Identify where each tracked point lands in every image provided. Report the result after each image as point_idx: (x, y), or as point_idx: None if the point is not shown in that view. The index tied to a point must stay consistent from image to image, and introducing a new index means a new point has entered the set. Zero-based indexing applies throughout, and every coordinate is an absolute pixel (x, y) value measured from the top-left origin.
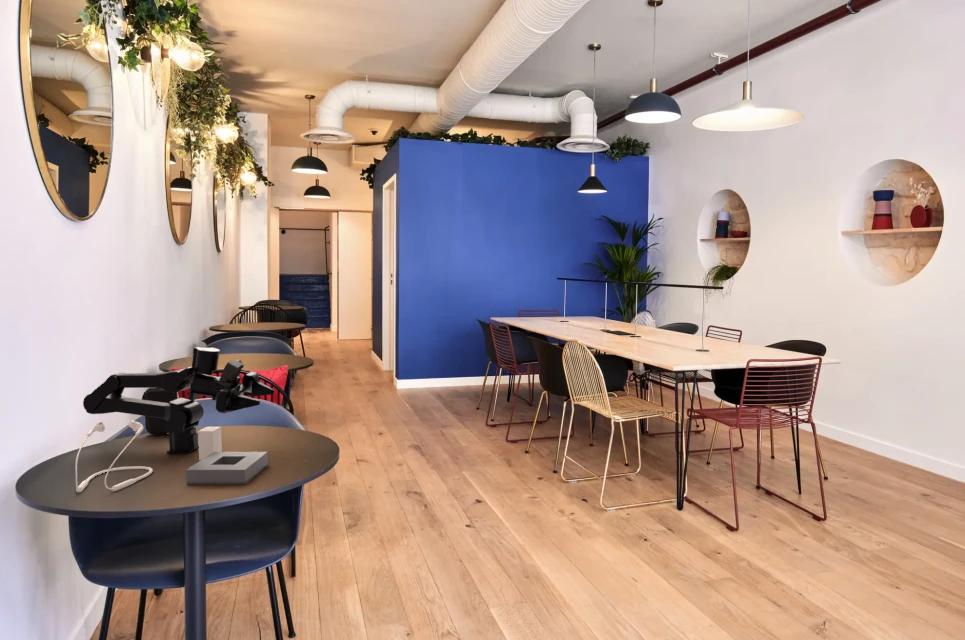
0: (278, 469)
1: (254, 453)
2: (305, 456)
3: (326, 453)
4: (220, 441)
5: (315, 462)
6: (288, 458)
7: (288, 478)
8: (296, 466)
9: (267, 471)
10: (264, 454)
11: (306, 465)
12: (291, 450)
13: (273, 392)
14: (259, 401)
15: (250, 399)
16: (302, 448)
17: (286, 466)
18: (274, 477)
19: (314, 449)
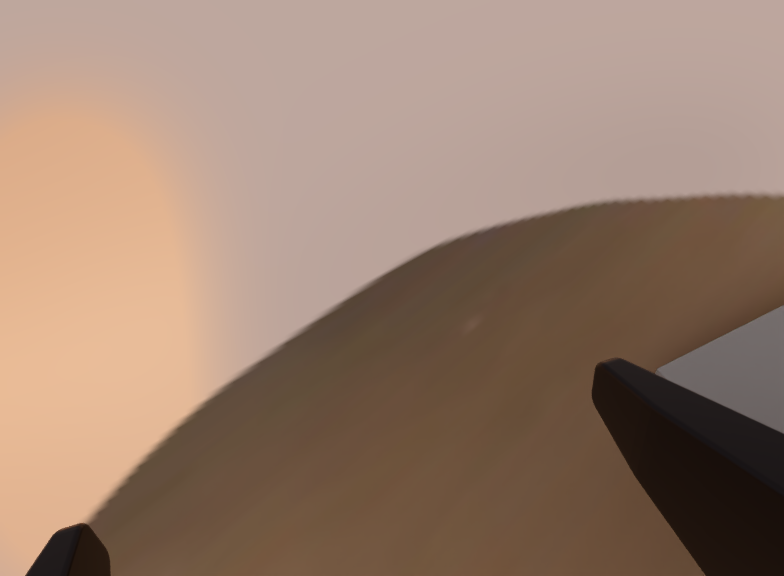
0: (649, 320)
1: (744, 407)
2: (422, 364)
3: (342, 321)
4: None
5: (474, 271)
6: (491, 409)
7: (692, 214)
8: (564, 291)
9: (709, 337)
10: (702, 346)
11: (527, 271)
12: (358, 514)
13: (101, 544)
14: (609, 359)
15: (748, 418)
16: (300, 485)
17: (593, 323)
18: (732, 257)
19: (299, 412)
